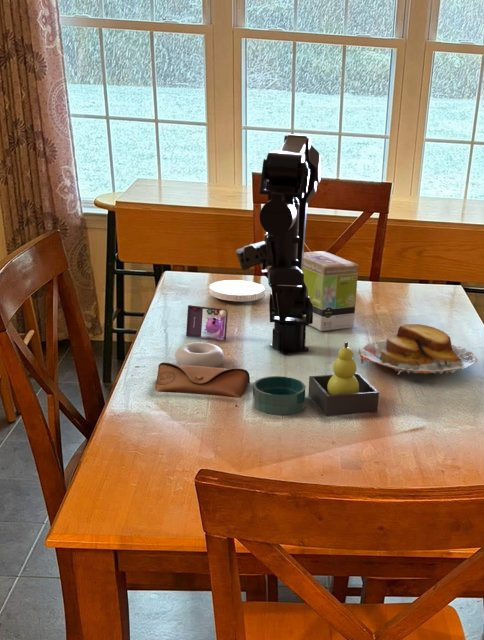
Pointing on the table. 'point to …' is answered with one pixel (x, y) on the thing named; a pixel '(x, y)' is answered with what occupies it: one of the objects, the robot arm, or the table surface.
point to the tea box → (330, 289)
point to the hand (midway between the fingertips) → (279, 315)
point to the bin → (343, 397)
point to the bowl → (279, 395)
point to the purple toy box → (212, 324)
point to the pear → (343, 374)
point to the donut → (199, 355)
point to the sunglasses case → (201, 380)
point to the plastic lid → (237, 290)
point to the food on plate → (418, 351)
